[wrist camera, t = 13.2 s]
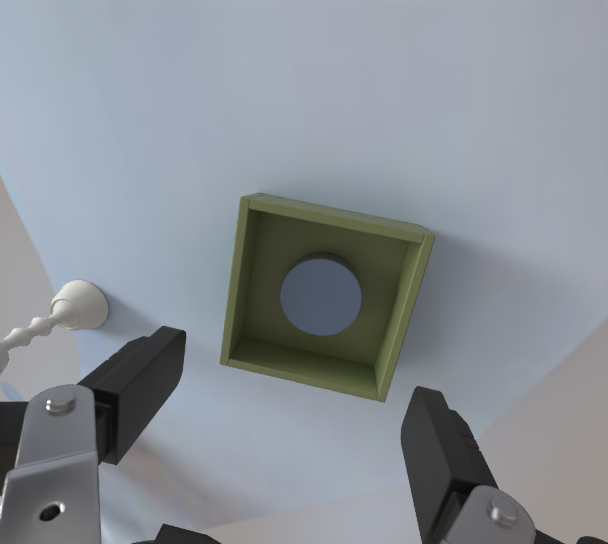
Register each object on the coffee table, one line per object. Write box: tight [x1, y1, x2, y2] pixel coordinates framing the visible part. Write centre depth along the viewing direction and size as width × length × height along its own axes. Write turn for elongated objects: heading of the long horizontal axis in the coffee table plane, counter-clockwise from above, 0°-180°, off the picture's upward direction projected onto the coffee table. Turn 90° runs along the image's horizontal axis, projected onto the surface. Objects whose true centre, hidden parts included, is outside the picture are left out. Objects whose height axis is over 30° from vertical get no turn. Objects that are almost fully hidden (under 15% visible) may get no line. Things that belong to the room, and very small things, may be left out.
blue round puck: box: [280, 252, 362, 336], centre depth 28 cm, size 6×6×2 cm
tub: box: [220, 193, 435, 402], centre depth 27 cm, size 13×13×5 cm
